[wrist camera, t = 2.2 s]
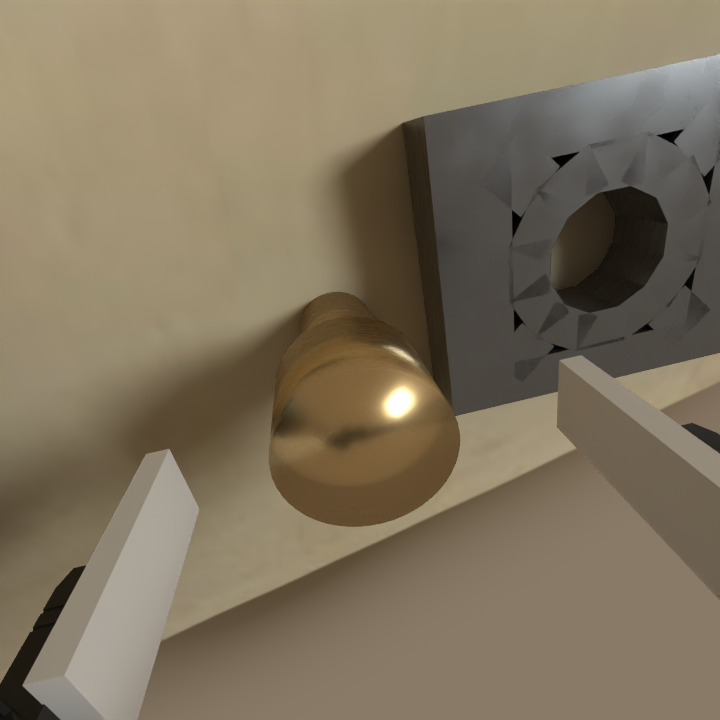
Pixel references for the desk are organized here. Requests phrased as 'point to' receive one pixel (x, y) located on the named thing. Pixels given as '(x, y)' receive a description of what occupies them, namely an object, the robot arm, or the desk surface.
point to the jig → (546, 219)
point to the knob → (357, 419)
